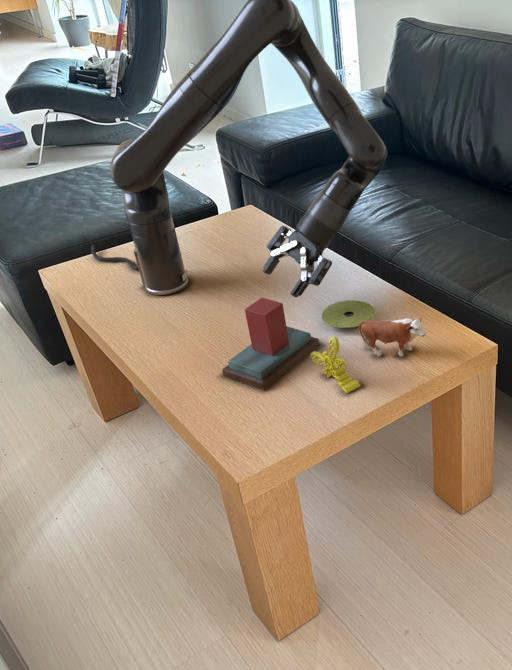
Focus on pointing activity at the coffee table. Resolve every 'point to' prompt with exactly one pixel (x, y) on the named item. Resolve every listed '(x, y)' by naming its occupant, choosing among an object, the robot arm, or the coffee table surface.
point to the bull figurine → (391, 333)
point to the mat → (348, 313)
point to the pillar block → (267, 326)
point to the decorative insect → (331, 368)
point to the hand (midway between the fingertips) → (279, 284)
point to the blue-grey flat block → (270, 360)
